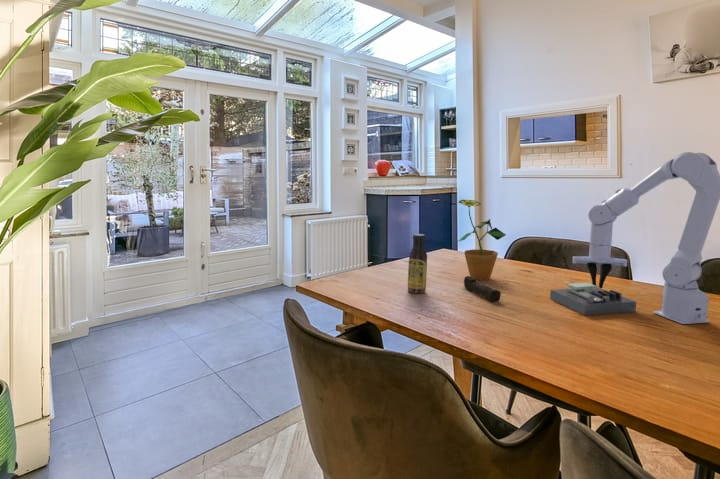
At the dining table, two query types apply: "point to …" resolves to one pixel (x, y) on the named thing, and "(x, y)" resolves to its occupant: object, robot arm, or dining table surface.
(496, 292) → the hand tool
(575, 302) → the heatsink block
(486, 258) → the potted plant
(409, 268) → the sauce bottle
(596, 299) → the grey flat bar
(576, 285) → the catch
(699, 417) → the dining table surface
